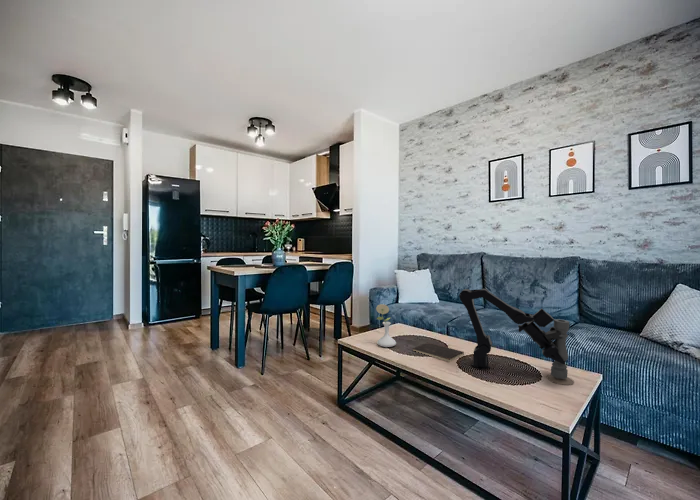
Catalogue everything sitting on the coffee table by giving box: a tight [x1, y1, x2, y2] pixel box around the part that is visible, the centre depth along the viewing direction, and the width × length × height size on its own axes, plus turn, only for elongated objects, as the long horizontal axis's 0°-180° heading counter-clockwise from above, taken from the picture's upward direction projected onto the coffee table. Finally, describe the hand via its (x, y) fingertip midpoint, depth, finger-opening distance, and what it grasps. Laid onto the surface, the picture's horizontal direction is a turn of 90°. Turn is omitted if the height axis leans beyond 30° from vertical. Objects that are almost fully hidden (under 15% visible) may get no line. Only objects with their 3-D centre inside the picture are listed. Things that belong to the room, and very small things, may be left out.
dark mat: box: [546, 374, 575, 386], centre depth 139 cm, size 10×10×1 cm
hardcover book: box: [412, 342, 465, 363], centre depth 175 cm, size 16×23×2 cm
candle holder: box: [550, 318, 570, 379], centre depth 139 cm, size 6×6×25 cm
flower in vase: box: [375, 303, 397, 348], centre depth 188 cm, size 13×11×25 cm
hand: (563, 361), depth 139 cm, fingers closed on candle holder, 6 cm apart
